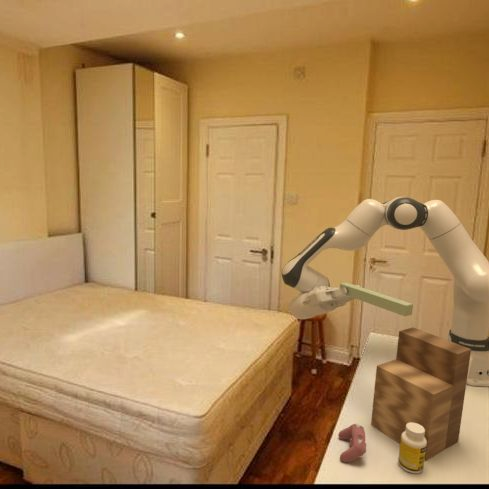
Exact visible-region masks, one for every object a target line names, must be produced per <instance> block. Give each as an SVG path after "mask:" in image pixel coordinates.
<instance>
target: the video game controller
mask: <svg viewBox="0 0 489 489" xmlns="http://www.w3.org/2000/svg"><path fill="white" fill-rule="evenodd" d="M337 436H338V438H339V439H340V440H343V441H344V440H350V441H349V446H350V448H348V449H346V450H344V451H343V452H341V453H340V455H339V459H340V461H341V462H343V463H349V462H353V461H355V460H357V459H359V458H361V457H363V455H364V454H366V452H367V443H366V432H365V428H364V427H363V426H362V425H360V424H357V423H352V424H351V425H349V426H347V427H345V428H344V429H342V430H340V431H339V433H338V435H337Z"/></svg>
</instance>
